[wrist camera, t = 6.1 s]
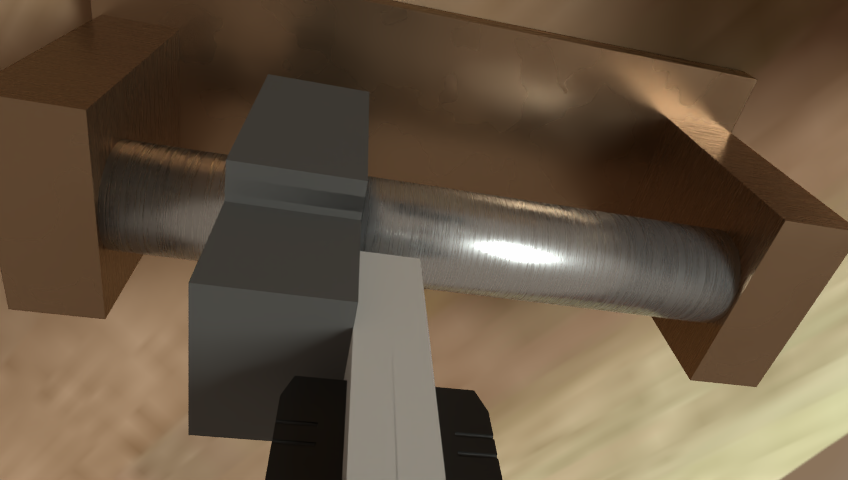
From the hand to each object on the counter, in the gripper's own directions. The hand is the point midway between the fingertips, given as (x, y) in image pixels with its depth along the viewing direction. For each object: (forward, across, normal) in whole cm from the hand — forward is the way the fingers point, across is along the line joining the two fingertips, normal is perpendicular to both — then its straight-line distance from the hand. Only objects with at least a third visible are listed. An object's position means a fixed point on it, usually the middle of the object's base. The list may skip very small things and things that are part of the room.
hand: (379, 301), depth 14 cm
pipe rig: (+10, +2, 0) cm, 11 cm away
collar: (+6, -2, 0) cm, 7 cm away
